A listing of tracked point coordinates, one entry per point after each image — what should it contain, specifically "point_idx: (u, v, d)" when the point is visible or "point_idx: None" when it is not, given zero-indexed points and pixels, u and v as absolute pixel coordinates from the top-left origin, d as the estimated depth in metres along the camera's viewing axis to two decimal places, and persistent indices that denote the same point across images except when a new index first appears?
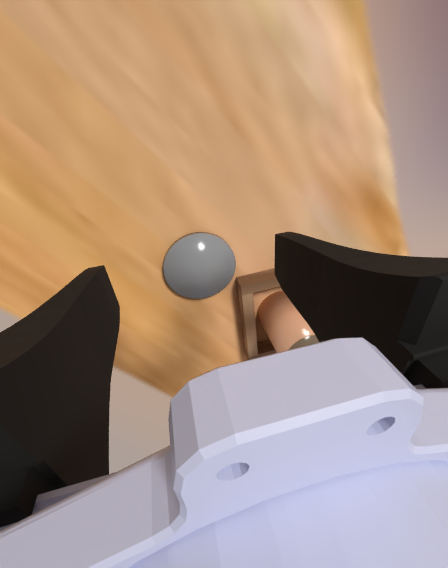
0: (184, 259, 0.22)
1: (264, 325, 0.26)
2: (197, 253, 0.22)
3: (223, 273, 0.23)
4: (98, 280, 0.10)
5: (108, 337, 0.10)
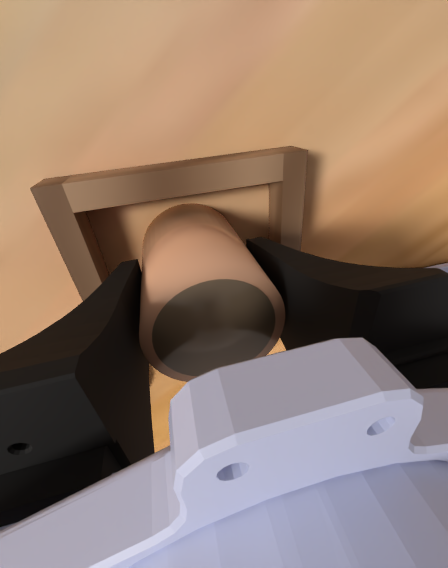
0: None
1: None
2: None
3: None
4: (135, 273, 0.10)
5: None
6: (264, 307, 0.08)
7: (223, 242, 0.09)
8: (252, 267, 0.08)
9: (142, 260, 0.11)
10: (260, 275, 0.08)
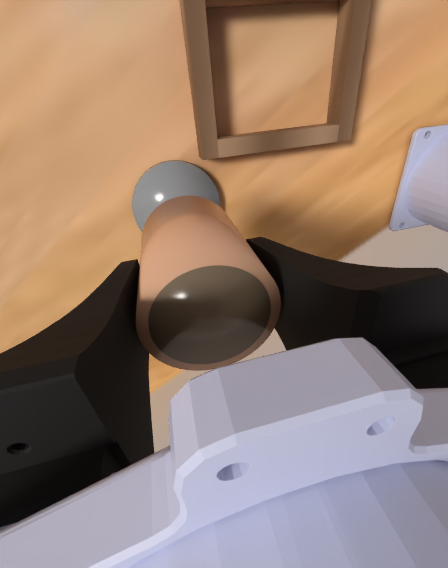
0: None
1: None
2: None
3: (187, 178, 0.18)
4: (135, 273, 0.10)
5: None
6: (260, 298, 0.08)
7: (225, 232, 0.09)
8: (252, 257, 0.08)
9: (141, 246, 0.11)
10: (260, 265, 0.08)
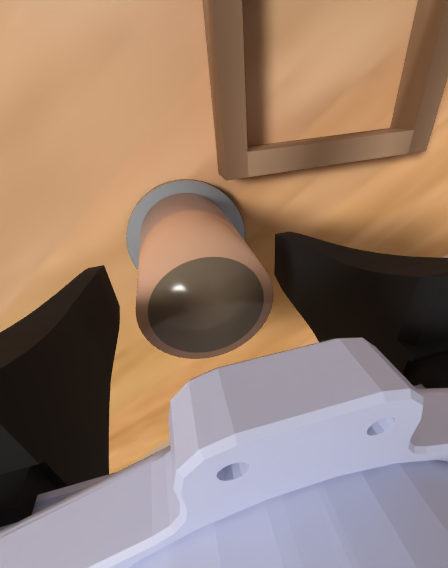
0: None
1: None
2: None
3: None
4: (99, 280, 0.10)
5: (108, 337, 0.10)
6: (254, 288, 0.09)
7: (220, 227, 0.09)
8: (246, 249, 0.09)
9: (140, 241, 0.11)
10: (253, 257, 0.08)
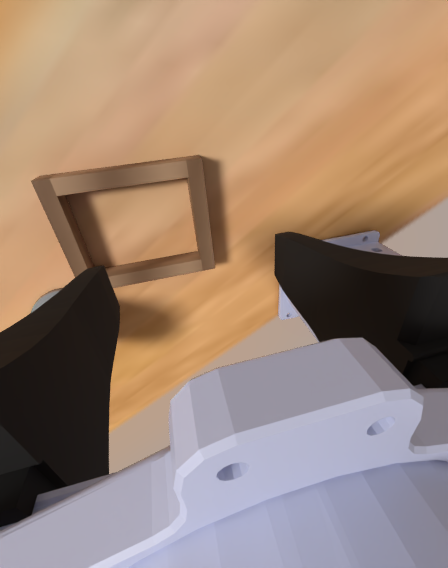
0: None
1: None
2: None
3: None
4: (99, 280, 0.10)
5: (108, 337, 0.10)
6: None
7: None
8: None
9: None
10: None
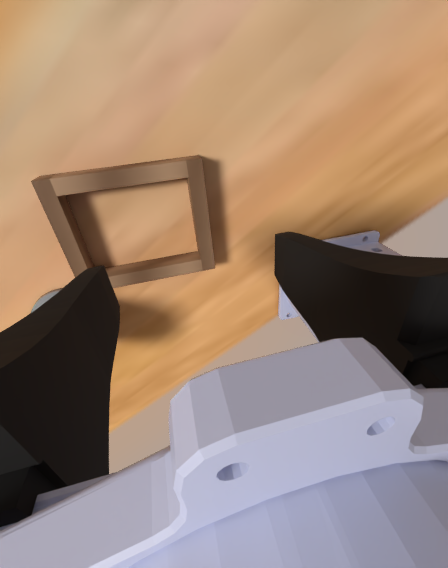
0: None
1: None
2: None
3: None
4: (99, 280, 0.10)
5: (108, 337, 0.10)
6: None
7: None
8: None
9: None
10: None
